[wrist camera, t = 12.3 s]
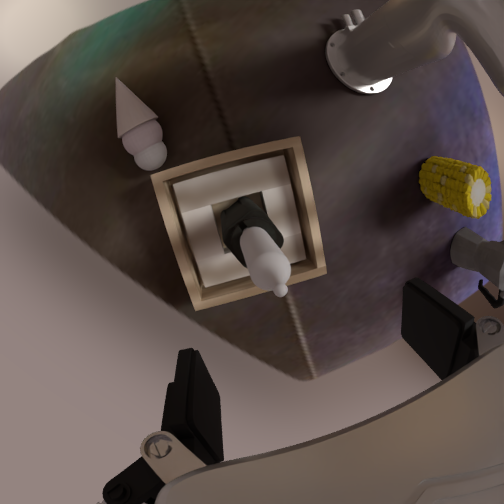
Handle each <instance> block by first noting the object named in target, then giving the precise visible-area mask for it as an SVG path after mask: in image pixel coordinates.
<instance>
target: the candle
mask: <svg viewBox="0 0 504 504" xmlns="http://www.w3.org/2000/svg"><path fill="white" fill-rule="evenodd" d="M220 218H221V228H222V238H223V242H224V244H225V245H226V247H227V248H228V249H229V250H230V251H231V253H232V254H233V255H234V256H235V257H236V258H237V260H238V261H239V262H240V263H241V264H242V265H243V266H244V267H246V268H248V271H249V274H250V277H251V280H252V281H253V283H254V284H255V285H256V286H257V287H258V288H260V289H263V290H267V291H271V290H273V291H274V294H275V295H276V296H278V297H282V296H284V295H286V293H287V291H288V288H287V286H286V285H285V283H286V282H287V281H288V279H289V277H290V274H291V266H290V262H289V261H288V259H287V257H286V256H285V255H284V254H283V252H282V251H281V250H280V249H281V248H282V246H283V243H284V238H283V235H282V234H281V232H280V231H279V230H278V228H277V227H276V226H275V224H274V223H273V222H272V221H271V219H270V218H269V217H268V215H267V214H266V213H265V212H264V211H263V210H262V209H261V208H260V207H259V206H257V205H256V204H255V203H254V202H253V201H252V200H251V199H250V198H248V197H246V196H242V197H239V198H238V200H237V201H236V202H235V203H234V204H232V205H231V206H230V207H229V208H227V209H226V210H223V211H222V212H221V215H220Z"/></svg>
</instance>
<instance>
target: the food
mask: <svg viewBox="0 0 504 504" xmlns="http://www.w3.org/2000/svg"><path fill="white" fill-rule="evenodd" d="M425 162H426V163H423V164H422V165H421V167H422V169H421V170H420V172H419V177H420V179H419V183H420V185H421V186H420V188H421V191H422V192H423V194H425V196H426V198H429V199H430V200H431V201H434V202H436V203H439V204H440V205H443V206H444V207H446V208H450V209H451V210H454V211H456V212H459V213H461V214H462V215H463V216H467V217H471V218H477V219H479V218H480V217H481V216H483V215H484V214H486V212H487V209H489V201H491V194H490V193H491V185H490V184H491V181H490V178H489V177H488V175H489V174H488V173H487V172H486V171H484V169H483V168H482V167H481V166H477V165H472V164H470V163H466V162H462V161H459V160H454V159H452V158H442V157H437V156H436V157H435V156H432V157H431V158H429V159H427V160H426V161H425Z"/></svg>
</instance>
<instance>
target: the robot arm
mask: <svg viewBox="0 0 504 504" xmlns="http://www.w3.org/2000/svg"><path fill="white" fill-rule="evenodd" d="M351 15H352V17H353V19H354V21H355V23H356V26H355V25H353V23H352V20H351V18H350V16H349V15H348V14H345V15H342V19H343V21H344V23H345V25H346V27H345V29H342V30H339V31H337V32H335V33H334V34H333V35H332V36H331V37H330V38H329V40H328V41H327V44H326V49H325V54H326V59H327V62H328V65H329V67H330V69H331V71H332V72H333V73H334V75H335V76H336V77H337V78H338V79H339V80H340V82H342V83H343V84H344V85H345V86H347V87H348V88H350V89H352V90H353V91H356V92H358V93H362V94H376V93H379V92H382V91H383V90H385V89H386V88H387V87H388V86H389V85H390V83H391V81H392V78H393V77H394V76H396V75H399V74H402V73H404V72H407V71H409V70H412V69H415V68H418V67H420V66H423V65H426V64H429V63H432V62H435V61H438V60H441V59H443V58H445V57H446V56H447V55H448V54H449V53H450V52H451V51H452V49H453V47H454V44H455V39H456V34H457V35H458V36H459V37H460V38H461V39H462V40H463V41H464V42H465V44H466V45H467V46H468V47H469V48H470V49H471V51H472V52H473V53H474V55H475V56H476V58H477V59H478V60H479V62H480V63H481V65H482V67H483V68H484V70H485V71H486V73H487V74H488V76H489V77H490V79H491V80H492V82H493V84H494V85H495V87H496V88H497V89H498V91H499V92H500V93H501V94H502V96H504V0H389V1H388V2H387V3H386V4H384V5H383V6H382V7H380V8H379V9H378V10H376V11H375V12H374V13H373V14H371V15H370V16H369V17H368V18H366V19H365V18H364V16H363V14H362V12H361V10H353V11H351ZM364 19H365V20H364ZM401 335H402V337H403V339H404V340H405V341H406V342H407V343H408V344H409V345H410V346H411V347H412V348H413V349H414V351H416V353H417V354H418V355H419V356H420V357H421V358H422V359H423V360H424V361H425V362H426V363H427V365H428V366H429V367H430V368H431V369H432V370H433V371H434V372H435V373H436V374H437V376H439V378H440V379H441V380H442V381H440V382H439V383H437V384H435V385H434V386H432V387H430V388H429V389H427V390H425V391H423V392H421V393H420V394H418V395H416V396H414V397H412V398H411V399H409V400H407V401H405V402H403V403H401V404H399V405H397V406H395V407H393V408H391V409H389V410H387V411H384V412H383V413H380V414H378V415H376V416H374V417H371V418H369V419H367V420H364V421H362V422H360V423H357V424H355V425H352V426H350V427H347V428H345V429H342V430H339V431H336V432H334V433H331V434H328V435H325V436H322V437H319V438H316V439H313V440H310V441H307V442H303V443H300V444H296V445H293V446H290V447H285V448H282V449H278V450H274V451H270V452H266V453H262V454H258V455H253V456H249V457H243V458H239V459H234V460H229V461H225V462H222V461H224V454H223V440H222V425H221V405H220V396H219V392H218V390H217V388H216V386H215V384H214V382H213V380H212V378H211V376H210V374H209V372H208V370H207V368H206V366H205V364H204V361H203V359H202V357H201V355H200V353H199V351H198V350H195V351H194V349H193V348H189V349H184V350H180V351H179V354H178V359H177V365H176V372H175V379H174V382H172V383H169V384H168V387H167V393H166V399H165V405H164V412H163V419H162V426H161V431H158V432H154V433H152V434H150V435H148V436H147V437H146V438H145V439H144V440H143V442H142V443H141V447H140V451H141V455H142V457H141V458H139V459H138V460H137V461H136V462H134V463H133V464H131V465H130V466H129V467H127V468H126V469H125V470H124V471H122V472H121V473H120V474H118V475H117V476H115V477H114V478H113V479H111V480H110V481H109V482H108V483H107V484H106V485H105V487H104V488H103V498H104V500H103V502H102V503H99V502H98V503H97V504H504V325H503V323H502V322H501V321H500V320H499V319H497V318H495V317H492V316H486V317H482V318H480V319H479V320H478V321H477V323H475V322H474V317H473V316H472V315H471V314H469V313H468V312H466V311H465V310H464V309H463V308H461V307H460V306H458V305H457V304H456V303H454V302H453V301H451V300H450V299H448V298H447V297H446V296H444V295H443V294H441V293H440V292H438V291H437V290H436V289H434V288H433V287H431V286H430V285H428V284H427V283H425V282H424V281H422V280H421V279H419V278H414V279H411V280H409V281H407V282H406V283H405V286H404V287H403V306H402V325H401Z"/></svg>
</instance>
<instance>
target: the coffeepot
mask: <svg viewBox="0 0 504 504" xmlns="http://www.w3.org/2000/svg"><path fill="white" fill-rule="evenodd" d="M450 256H451V260H452V263H453V264H455V265H457V266H458V267H461V268H465V269H469V270H473V271H476V272H480V274H482V275H483V276H484V277H486V278H487V279H488V280H489V281H491V282H492V283H493V284H494V285H495V286H497V287H498V288H499V295H498V300H496V299H495V298H494V297H493V296H492V295H491V294H490V293H489V291H488V290H487V289H486V288H484V287H483V280H479V285H478V289H479V290H480V291H481V292H482V294H483V295H484V296H485V298H486V299H487V300H488V301H489V303H490V304H491V306H492V307H493V308H498V307H500V306H502V305H503V304H504V241H501V242H497V241H490V242H489V241H487V240H485V239H484V238H482V237H481V236H479V235H478V234H476V233H475V232H473V231H471V230H470V229H468V228H466V227H464V228H462V229H460V230H459V231H458V232H457V233H456V235H455V236H454V238H453V241H452V244H451V249H450Z"/></svg>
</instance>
